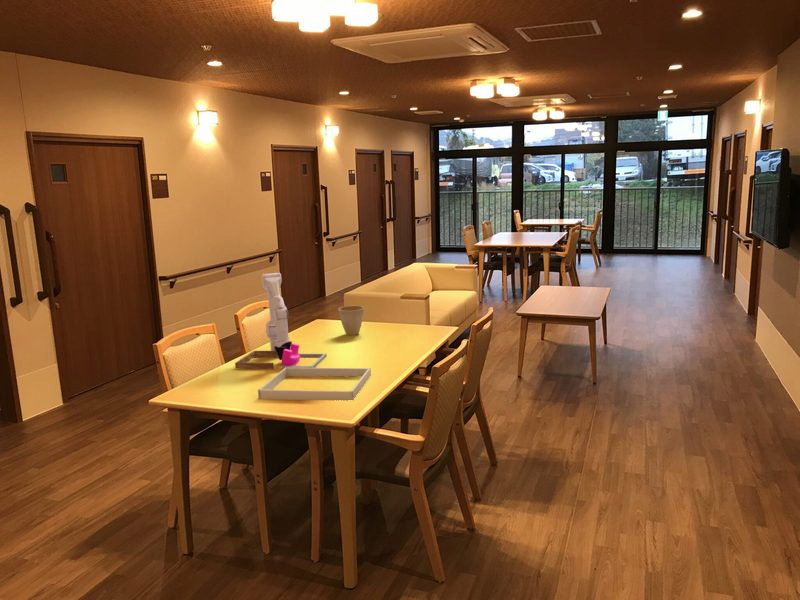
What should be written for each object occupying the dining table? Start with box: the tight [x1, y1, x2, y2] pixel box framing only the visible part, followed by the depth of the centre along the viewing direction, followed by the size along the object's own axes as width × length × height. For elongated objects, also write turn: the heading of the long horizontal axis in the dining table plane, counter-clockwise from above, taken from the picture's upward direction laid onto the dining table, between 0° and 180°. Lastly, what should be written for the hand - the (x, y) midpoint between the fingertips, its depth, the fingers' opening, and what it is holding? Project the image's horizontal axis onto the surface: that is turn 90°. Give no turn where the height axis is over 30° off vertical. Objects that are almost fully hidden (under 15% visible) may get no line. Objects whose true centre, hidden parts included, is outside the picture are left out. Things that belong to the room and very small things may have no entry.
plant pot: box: [338, 305, 365, 336], centre depth 381 cm, size 15×15×16 cm
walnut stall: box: [234, 350, 278, 370], centre depth 331 cm, size 23×20×3 cm
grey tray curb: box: [257, 367, 372, 402], centre depth 287 cm, size 33×42×4 cm
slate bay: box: [280, 352, 328, 370], centre depth 327 cm, size 23×16×2 cm
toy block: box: [280, 342, 301, 366], centre depth 327 cm, size 15×6×8 cm, turn 172°
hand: (284, 357), depth 328 cm, fingers open, 7 cm apart
